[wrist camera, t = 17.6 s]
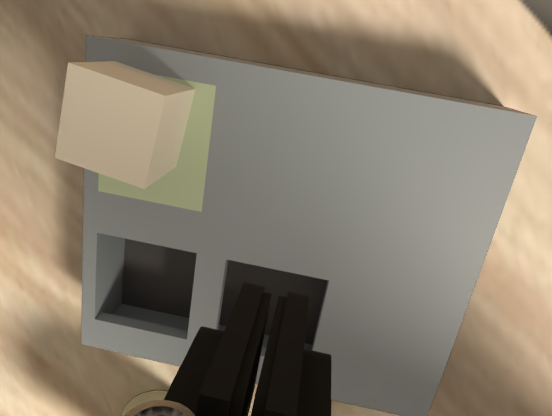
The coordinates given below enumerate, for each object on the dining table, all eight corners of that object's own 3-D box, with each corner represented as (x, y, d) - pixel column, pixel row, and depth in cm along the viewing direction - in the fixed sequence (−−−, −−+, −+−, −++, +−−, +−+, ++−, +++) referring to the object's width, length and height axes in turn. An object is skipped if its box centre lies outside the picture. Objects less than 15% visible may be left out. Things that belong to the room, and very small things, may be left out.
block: (195, 88, 26) (165, 95, 21) (176, 166, 28) (144, 189, 23) (115, 61, 26) (68, 62, 21) (101, 140, 28) (54, 157, 23)
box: (503, 106, 29) (537, 116, 24) (413, 374, 36) (425, 421, 32) (124, 38, 31) (86, 35, 26) (112, 308, 38) (81, 344, 33)
